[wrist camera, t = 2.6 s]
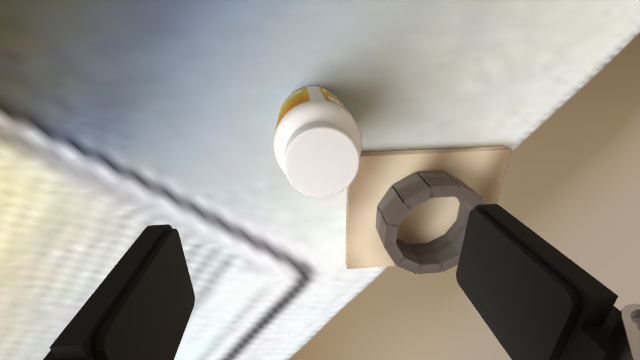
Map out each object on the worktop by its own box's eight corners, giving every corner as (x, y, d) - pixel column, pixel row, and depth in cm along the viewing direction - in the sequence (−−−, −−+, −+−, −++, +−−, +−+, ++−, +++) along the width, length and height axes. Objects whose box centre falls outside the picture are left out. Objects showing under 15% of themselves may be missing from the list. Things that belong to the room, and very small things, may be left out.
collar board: (503, 146, 26) (536, 162, 23) (476, 253, 31) (499, 281, 28) (348, 152, 26) (356, 171, 22) (345, 262, 31) (352, 291, 27)
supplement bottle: (279, 151, 25) (271, 210, 16) (277, 84, 23) (266, 112, 14) (343, 150, 25) (368, 208, 17) (347, 85, 23) (378, 112, 14)
